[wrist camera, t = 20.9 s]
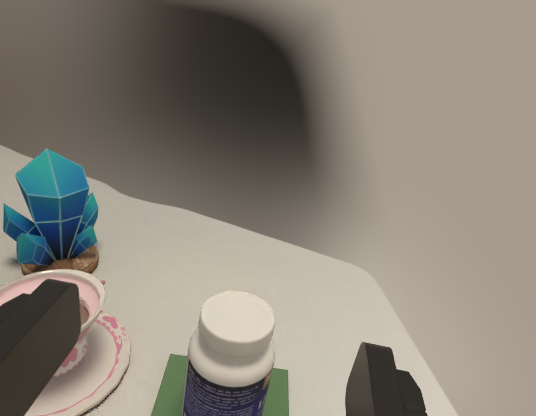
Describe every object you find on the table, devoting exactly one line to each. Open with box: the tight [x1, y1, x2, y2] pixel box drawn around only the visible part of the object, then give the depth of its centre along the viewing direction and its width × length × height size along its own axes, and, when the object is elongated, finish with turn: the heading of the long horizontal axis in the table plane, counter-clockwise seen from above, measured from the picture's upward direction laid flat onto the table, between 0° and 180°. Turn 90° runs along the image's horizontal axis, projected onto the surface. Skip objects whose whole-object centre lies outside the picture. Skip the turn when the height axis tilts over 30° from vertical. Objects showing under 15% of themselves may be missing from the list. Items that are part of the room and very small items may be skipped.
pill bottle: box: [182, 291, 275, 416], centre depth 27 cm, size 6×6×10 cm
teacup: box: [0, 269, 131, 416], centre depth 31 cm, size 12×12×6 cm
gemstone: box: [3, 149, 99, 276], centre depth 40 cm, size 7×9×12 cm
